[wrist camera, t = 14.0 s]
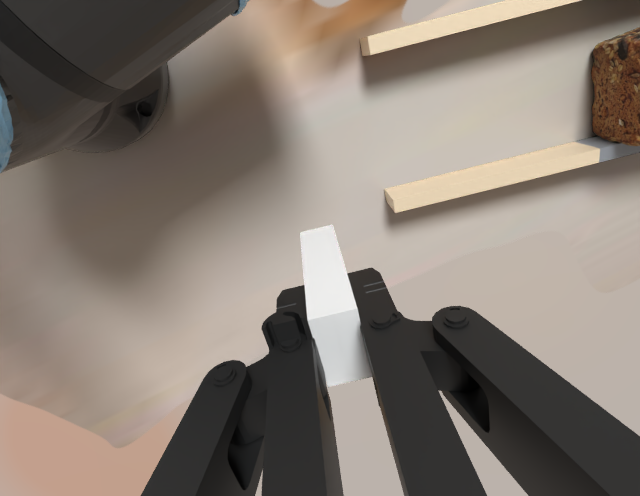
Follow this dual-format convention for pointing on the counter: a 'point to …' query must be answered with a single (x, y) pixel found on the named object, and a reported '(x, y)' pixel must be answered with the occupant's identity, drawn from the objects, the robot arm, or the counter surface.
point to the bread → (617, 88)
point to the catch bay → (502, 171)
